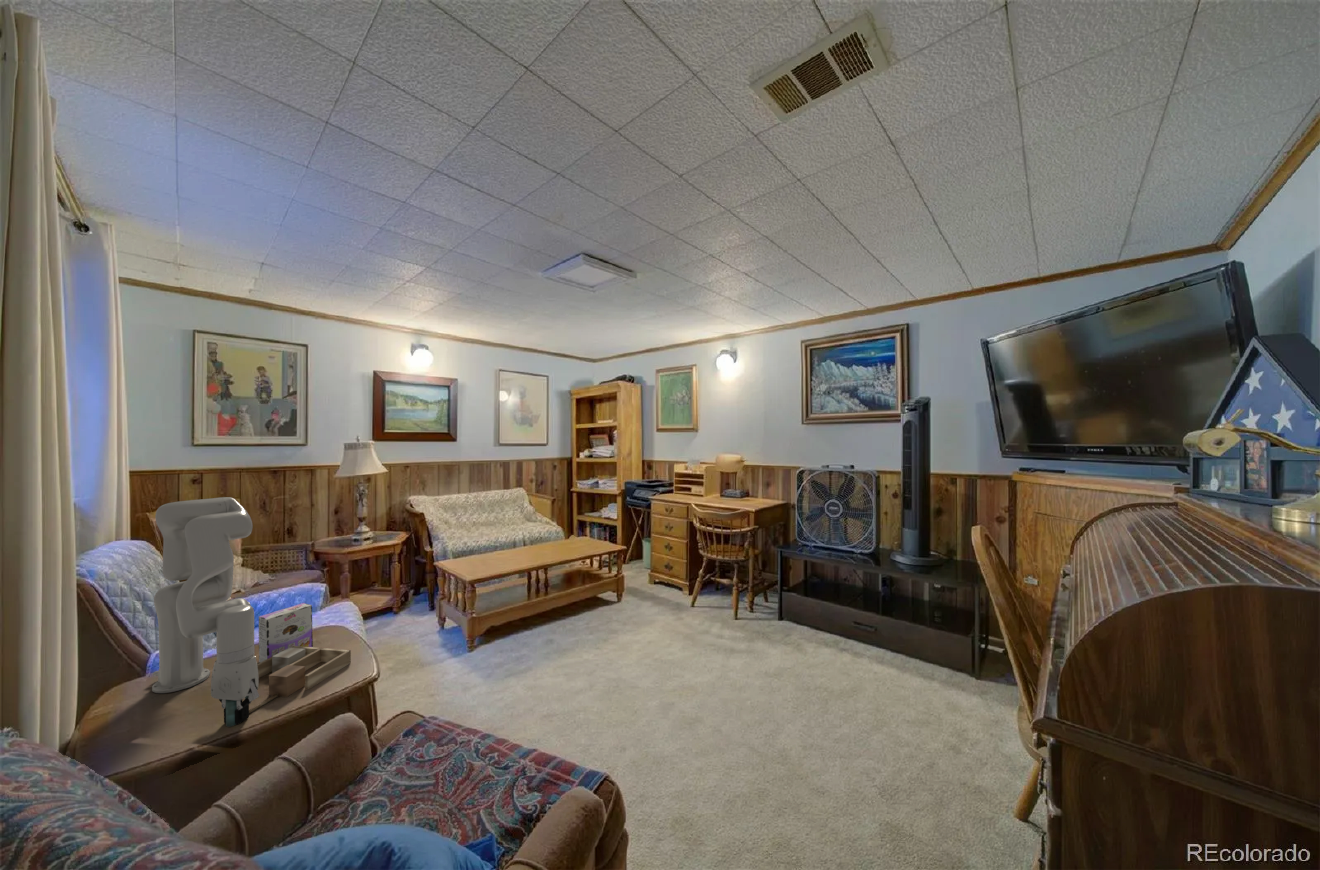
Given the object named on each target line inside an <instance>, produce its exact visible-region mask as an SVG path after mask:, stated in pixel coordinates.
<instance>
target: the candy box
mask: <svg viewBox="0 0 1320 870" xmlns="http://www.w3.org/2000/svg"><path fill="white" fill-rule="evenodd" d="M292 646H304V647H314V642H313V604H309V603H306V602H301V603H299V604H295V605H293V606H289V607H286V608H282V609H279V610H275V611H273V612H270V613H266V614H263V615H262V614H261V615H259V616H258V663H261V662H263V661H264V660H266V659H268V658H270V657H272V656H274V655H276V654H278V653H280V652H282V651H284V650H286V649H288V648H290V647H292Z"/></svg>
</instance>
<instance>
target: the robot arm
mask: <svg viewBox="0 0 1320 870" xmlns="http://www.w3.org/2000/svg"><path fill="white" fill-rule="evenodd" d="M155 522H156V523H155V524H156V525H157V528H158V530H159V531H160V533H161V535H162V538H163V547H162V548H163V549H162V551H163V552H162V575H163V577H164V578H165V579H166V580H168V581H170V582H171V581H172V582H173V581H175V582H176V581H179V582H176V583H172V584H169V585H166V586H163V587H162V588H160V589H159V590H157V591H156V592H155V595H154V597H153V604H154V609H155V613H156V617H157V622H158V623H157V624H158V625H157V626H158V658H159V659H158V660H159V661H158V664H159V665H158V666H159V667H158V670H155V671H153V673H152V676H153V677H157V681H155V683H153V685H152V686H151V691H152V692H153V693H156V694H167V693H173V692H178V691H183V690H185V689H188V688H191V687H193V686H196V685H198V684H201V683H202V682H204V681H205V680H207V679H208V678H210V675H211V681H210V683H211V684H210V696H211V698H213V699H218V701H220V703H221V708H222V709H223V723H224V724H226V701H227V700H235V701H236V702H237V709H236V710H235V724H236V725H239V724H241V723H242V722H244V721H246V720H247V719H249V717H250V713H249V710H250V704H251V703H252V702H253V701H255V700H257V699H258V698H260V694H259V692H258V690H259V686H260V685H259V684H260V680H259V679H260V678H259V675H258V666H257V664H258V661H257V656H256V654H255V609H254V606H252V605H251V603H250V602H249V601H248V600H247V599H246V598H241V597H240V598H239V597H238V598H234V599H233V598H232V599H230V598H231V596H232V594H233V583H234V581H233V580H234V566H235V565H234V561H235V560H234V559H235V558H234V552H233V549H232V548H231V543H230V541H234V540H240V539H245V538H247V537H249V536H250V535H251V534H252V532H253V521H252V518H251V516H250V514H249V513H248V510H246V509H245V507H244V506H243V505H241V504H240V502H238V501H237V500H236V499H235V497H234V498H233V497H230V496H229V497H226V496H223V497H222V496H221V497H214V498H213V497H212V498H211V497H210V498H203V499H190V500H180V501H174V502H168V503H164V504H163V505H160V506H159V507H158V508H157V510H156V511H155ZM213 633H216V639H215V640H216V660H215V661H214V664H213V668H212V673H211V671H210V669H208V668H205V667H204V636H206V635H210V634H213Z"/></svg>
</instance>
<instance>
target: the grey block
mask: <svg viewBox="0 0 1320 870" xmlns="http://www.w3.org/2000/svg"><path fill="white" fill-rule="evenodd" d="M303 657H305V649H302V648H288V649H286V650H284V651H282V652H280V653H278V654H276V655H274V656H272V671H271V674H272V673H274V672H276V671H278V670H280V669H281V668H283V667H285V666H287V665H290V664H292V663H294V662H296V661H298V660H299V659H301V658H303Z"/></svg>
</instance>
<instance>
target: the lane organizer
mask: <svg viewBox="0 0 1320 870" xmlns="http://www.w3.org/2000/svg"><path fill="white" fill-rule="evenodd" d="M290 648H302V649H305V657H303V658H301V659H299V660H298V661H296V662H294V663H292V664H290V665H294V666H305V672H306V671H307V670H309V669H311V668H313V667H314V666H316V665H318V664H320V663H324V664H322V665H321V666H319V667H318V668H315V669H313V670H312V671H310V672H309V673H307V674H305V686H304V690H310V689H312V688H313V687H314V686H316V685H319V683H321V682H323V681H324V680H326V679H327V678H329V677H331V676H332V675H334V674H335V673H337V672H339V671H340V670H341V669H343V668H344V667H346V666H348V665H350V664H351V663H352V659H351V657H352V655H351V654H352V653H351V651H352V650H349V649H339V648H327V647H315V646H313V647H304V646H292V647H290ZM257 666H258V675H259V679H260V678H263V677H264V676H265V675H268V674H271V673H272V657H270V658H268V659H266V660H264V661H263V662H261V663H260V662H258V663H257Z"/></svg>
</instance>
